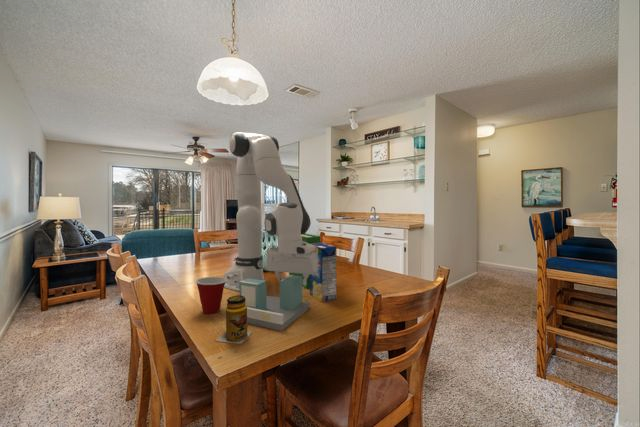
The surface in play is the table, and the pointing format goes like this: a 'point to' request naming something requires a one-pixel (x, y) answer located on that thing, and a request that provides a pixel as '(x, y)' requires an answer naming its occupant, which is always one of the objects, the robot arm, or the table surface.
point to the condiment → (235, 321)
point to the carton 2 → (291, 292)
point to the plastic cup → (211, 293)
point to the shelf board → (275, 314)
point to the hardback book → (311, 240)
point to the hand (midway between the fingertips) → (292, 284)
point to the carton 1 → (253, 293)
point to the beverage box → (324, 273)
